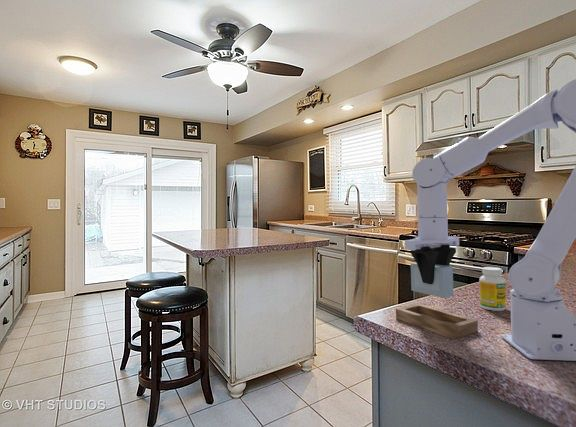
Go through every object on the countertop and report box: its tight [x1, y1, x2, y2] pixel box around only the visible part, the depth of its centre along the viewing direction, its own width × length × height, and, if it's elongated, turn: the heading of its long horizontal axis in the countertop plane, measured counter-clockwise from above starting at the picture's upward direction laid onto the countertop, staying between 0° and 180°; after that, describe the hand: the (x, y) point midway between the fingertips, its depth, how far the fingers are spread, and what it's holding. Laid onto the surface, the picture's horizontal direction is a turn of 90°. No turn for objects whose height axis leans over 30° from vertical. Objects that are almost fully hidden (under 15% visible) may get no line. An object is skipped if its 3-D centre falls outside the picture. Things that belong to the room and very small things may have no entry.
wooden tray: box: [395, 303, 479, 340], centre depth 69 cm, size 14×7×2 cm, turn 28°
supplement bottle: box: [478, 266, 507, 312], centre depth 79 cm, size 5×5×10 cm
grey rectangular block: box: [410, 262, 454, 299], centre depth 69 cm, size 8×3×6 cm, turn 28°
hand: (433, 282), depth 69 cm, fingers closed on grey rectangular block, 3 cm apart
